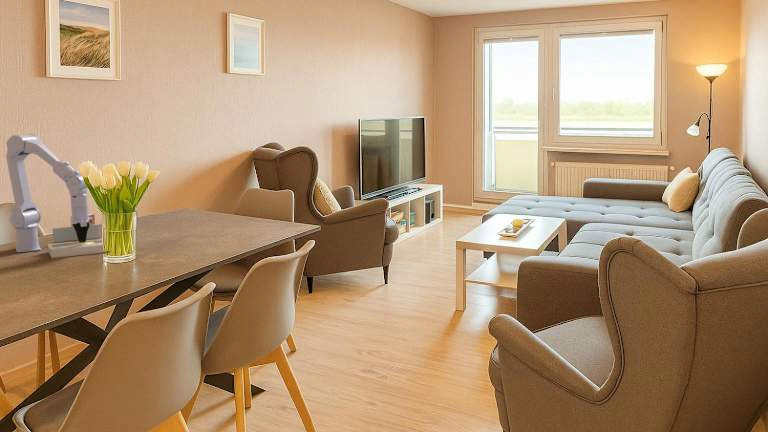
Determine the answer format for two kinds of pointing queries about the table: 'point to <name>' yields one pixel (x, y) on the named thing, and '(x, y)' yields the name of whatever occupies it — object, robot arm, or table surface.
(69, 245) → the yellow rounded bar
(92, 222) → the small box
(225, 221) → the table surface
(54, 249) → the white sliding drawer case
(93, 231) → the cover
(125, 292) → the table surface
